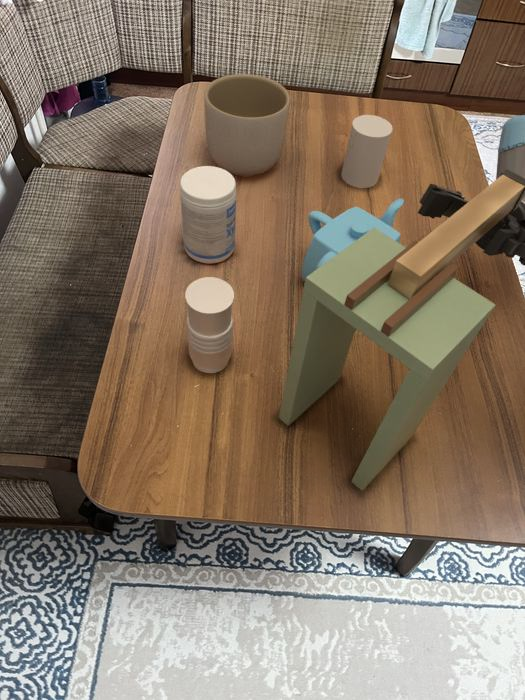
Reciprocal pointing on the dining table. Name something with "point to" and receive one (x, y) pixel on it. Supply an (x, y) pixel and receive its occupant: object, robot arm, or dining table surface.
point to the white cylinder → (366, 150)
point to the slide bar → (456, 234)
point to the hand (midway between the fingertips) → (459, 222)
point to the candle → (209, 323)
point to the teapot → (344, 233)
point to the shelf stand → (380, 337)
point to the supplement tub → (208, 213)
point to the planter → (245, 122)
